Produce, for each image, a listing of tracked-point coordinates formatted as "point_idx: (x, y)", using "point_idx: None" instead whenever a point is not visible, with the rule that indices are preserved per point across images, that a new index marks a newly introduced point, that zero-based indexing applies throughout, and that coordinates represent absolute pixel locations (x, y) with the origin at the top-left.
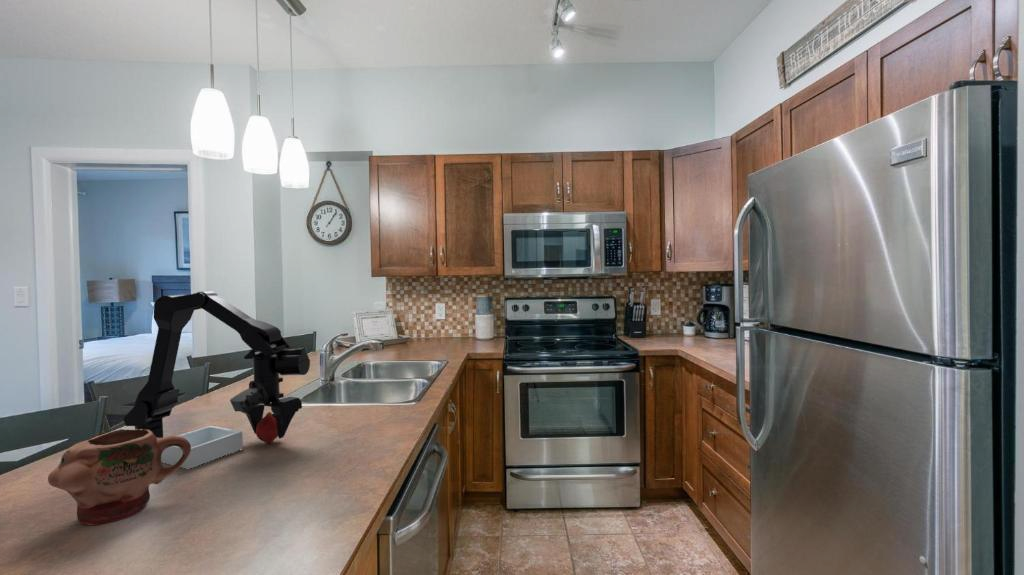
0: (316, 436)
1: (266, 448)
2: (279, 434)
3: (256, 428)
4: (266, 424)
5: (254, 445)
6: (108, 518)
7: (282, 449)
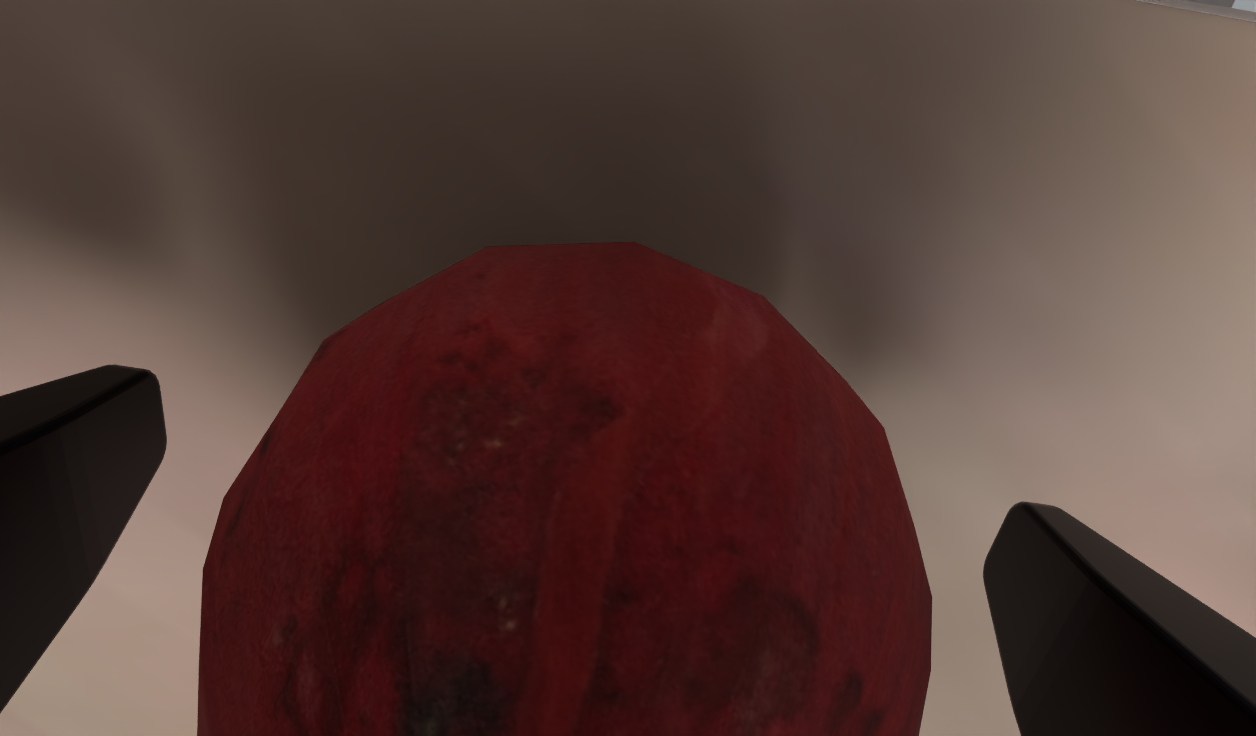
0: (95, 724)
1: (417, 143)
2: (11, 397)
3: (785, 413)
4: (318, 576)
5: (841, 236)
6: None
7: (20, 166)
